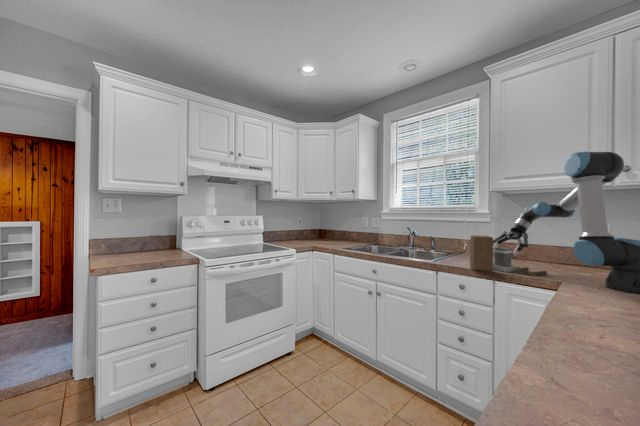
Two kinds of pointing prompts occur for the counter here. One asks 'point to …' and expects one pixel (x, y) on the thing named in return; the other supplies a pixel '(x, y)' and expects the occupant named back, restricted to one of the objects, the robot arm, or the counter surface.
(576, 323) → the counter surface
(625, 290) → the robot arm
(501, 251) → the caddy
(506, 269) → the tray
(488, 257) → the wooden block
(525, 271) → the cradle
